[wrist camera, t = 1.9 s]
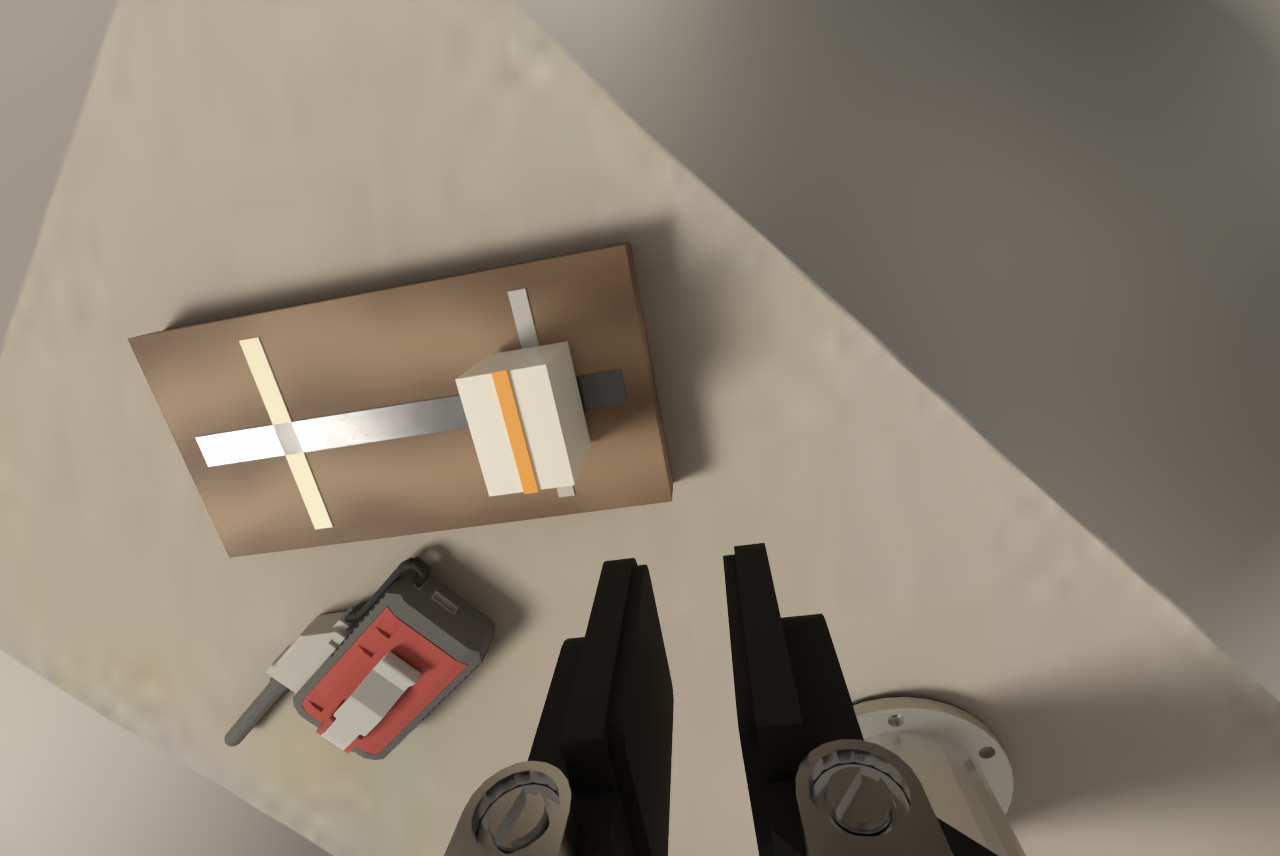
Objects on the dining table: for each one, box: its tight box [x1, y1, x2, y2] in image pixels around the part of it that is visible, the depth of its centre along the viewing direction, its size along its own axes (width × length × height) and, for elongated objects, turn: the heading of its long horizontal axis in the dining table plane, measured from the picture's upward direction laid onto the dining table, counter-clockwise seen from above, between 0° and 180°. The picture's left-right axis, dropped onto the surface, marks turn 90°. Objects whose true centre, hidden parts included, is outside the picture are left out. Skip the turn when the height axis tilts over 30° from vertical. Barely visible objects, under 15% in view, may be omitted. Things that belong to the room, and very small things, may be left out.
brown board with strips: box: [128, 243, 673, 558], centre depth 30 cm, size 12×24×2 cm, turn 101°
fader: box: [455, 341, 591, 497], centre depth 25 cm, size 5×4×4 cm
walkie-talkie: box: [225, 558, 495, 760], centre depth 35 cm, size 9×4×20 cm
